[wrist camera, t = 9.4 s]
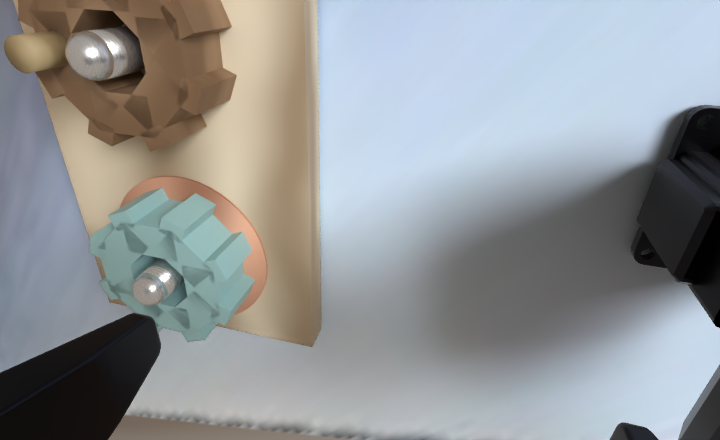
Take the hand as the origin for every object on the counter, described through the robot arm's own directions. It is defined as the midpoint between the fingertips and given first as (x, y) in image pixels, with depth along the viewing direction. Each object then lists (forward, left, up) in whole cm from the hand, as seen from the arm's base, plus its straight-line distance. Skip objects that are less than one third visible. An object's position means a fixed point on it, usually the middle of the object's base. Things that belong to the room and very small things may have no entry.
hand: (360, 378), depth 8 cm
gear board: (+11, +1, -12) cm, 17 cm away
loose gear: (+11, +6, -10) cm, 17 cm away
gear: (+11, -4, -10) cm, 16 cm away
